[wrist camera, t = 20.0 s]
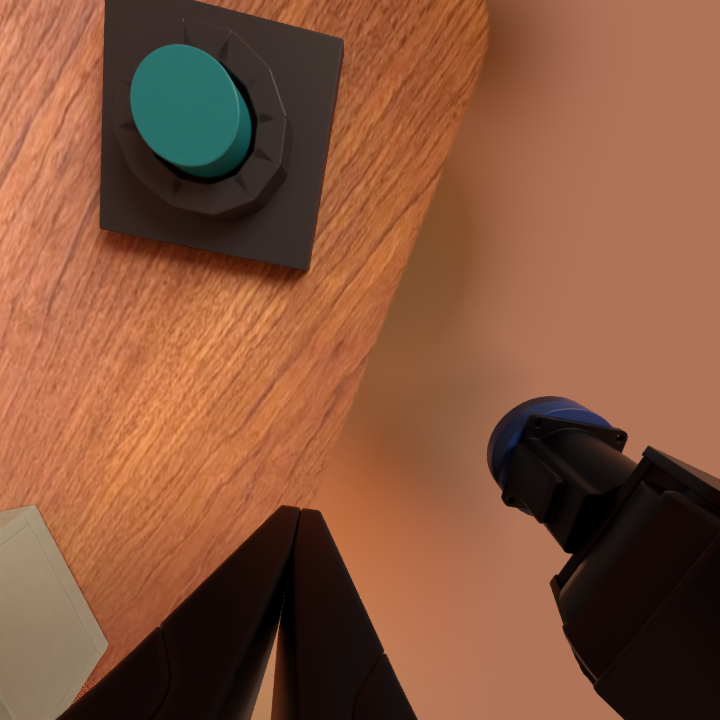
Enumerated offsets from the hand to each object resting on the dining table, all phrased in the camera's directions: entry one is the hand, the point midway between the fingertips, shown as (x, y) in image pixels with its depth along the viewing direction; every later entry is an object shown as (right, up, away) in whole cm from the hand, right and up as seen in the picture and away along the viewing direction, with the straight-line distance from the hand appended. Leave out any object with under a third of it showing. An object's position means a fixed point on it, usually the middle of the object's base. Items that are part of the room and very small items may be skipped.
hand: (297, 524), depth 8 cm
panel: (-5, +14, +10) cm, 18 cm away
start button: (-5, +13, +7) cm, 16 cm away
